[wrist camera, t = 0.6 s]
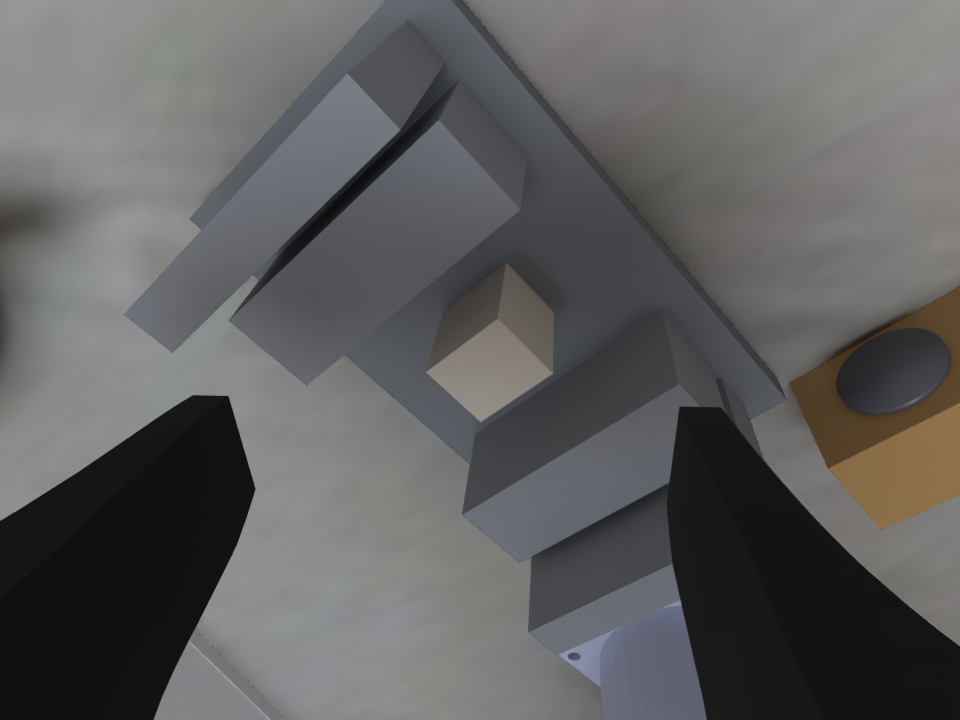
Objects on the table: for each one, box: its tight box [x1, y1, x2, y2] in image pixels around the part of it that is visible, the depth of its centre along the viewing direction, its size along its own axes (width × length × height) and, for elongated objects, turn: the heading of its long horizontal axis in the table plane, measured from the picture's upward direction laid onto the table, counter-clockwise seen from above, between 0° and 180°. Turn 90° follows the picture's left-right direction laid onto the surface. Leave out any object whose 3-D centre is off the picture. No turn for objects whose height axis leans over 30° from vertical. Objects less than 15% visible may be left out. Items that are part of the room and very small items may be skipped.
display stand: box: [124, 0, 786, 655], centre depth 18 cm, size 15×9×6 cm, turn 43°
